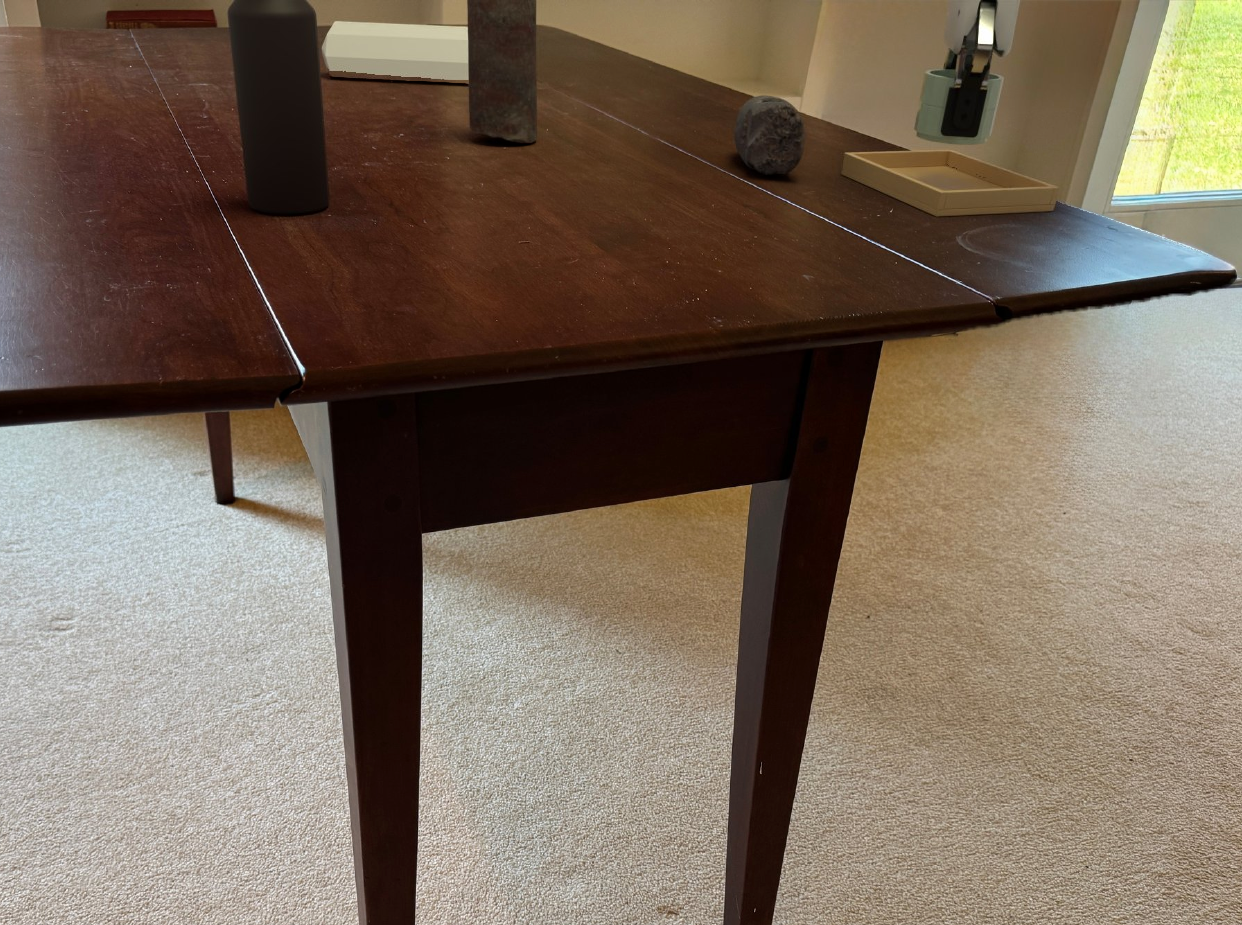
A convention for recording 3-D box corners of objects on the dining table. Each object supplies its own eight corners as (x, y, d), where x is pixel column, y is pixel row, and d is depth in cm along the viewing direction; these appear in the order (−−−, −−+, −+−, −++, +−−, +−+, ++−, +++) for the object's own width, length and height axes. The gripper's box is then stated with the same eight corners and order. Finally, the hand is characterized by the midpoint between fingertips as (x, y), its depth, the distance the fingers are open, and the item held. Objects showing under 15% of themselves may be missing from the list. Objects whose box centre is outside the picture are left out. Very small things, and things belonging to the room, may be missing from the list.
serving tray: (946, 170, 115) (950, 149, 114) (1053, 211, 101) (1059, 187, 100) (840, 174, 112) (844, 152, 111) (936, 216, 98) (941, 192, 97)
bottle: (231, 209, 93) (199, -64, 83) (280, 193, 98) (255, -66, 88) (299, 220, 91) (275, -60, 80) (345, 203, 96) (328, -62, 86)
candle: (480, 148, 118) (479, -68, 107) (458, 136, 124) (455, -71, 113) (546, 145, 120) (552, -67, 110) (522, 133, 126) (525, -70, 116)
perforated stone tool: (720, 152, 120) (728, 82, 116) (768, 153, 120) (777, 83, 117) (749, 183, 107) (758, 106, 104) (802, 184, 107) (813, 107, 104)
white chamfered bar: (494, 48, 160) (332, 41, 163) (487, 25, 153) (318, 18, 155) (490, 100, 161) (328, 92, 163) (482, 79, 154) (314, 71, 156)
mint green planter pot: (961, 130, 107) (974, 69, 105) (1004, 144, 102) (1019, 80, 99) (899, 132, 106) (911, 69, 103) (939, 146, 100) (953, 80, 97)
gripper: (1066, -91, 86) (1009, 149, 96) (1028, -93, 101) (982, 116, 110) (966, -94, 87) (920, 143, 97) (943, -96, 102) (904, 111, 111)
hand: (953, 127), depth 103 cm, fingers closed on mint green planter pot, 7 cm apart
